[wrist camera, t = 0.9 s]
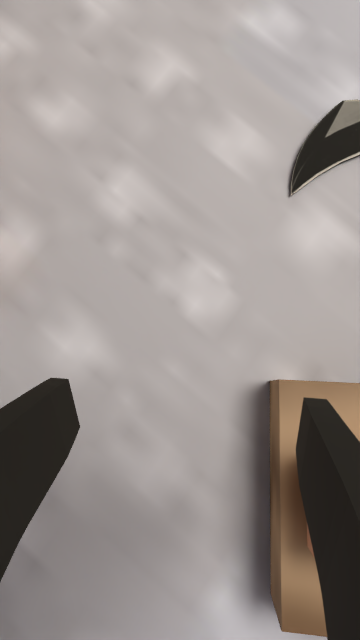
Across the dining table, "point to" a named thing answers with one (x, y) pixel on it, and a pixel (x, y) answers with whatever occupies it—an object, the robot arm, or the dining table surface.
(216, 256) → the dining table surface
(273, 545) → the wooden square board
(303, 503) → the robot arm
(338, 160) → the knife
